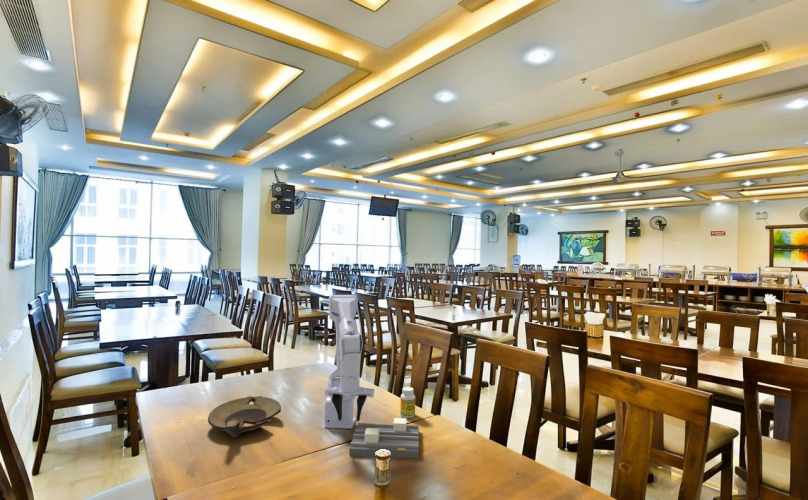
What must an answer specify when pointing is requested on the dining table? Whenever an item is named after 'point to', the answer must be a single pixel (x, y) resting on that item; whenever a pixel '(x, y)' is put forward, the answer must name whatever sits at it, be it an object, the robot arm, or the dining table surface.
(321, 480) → the dining table surface
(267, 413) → the grey shallow oval dish
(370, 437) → the near switch tab
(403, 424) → the far switch tab
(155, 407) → the dining table surface
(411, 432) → the switch board
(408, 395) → the supplement bottle
